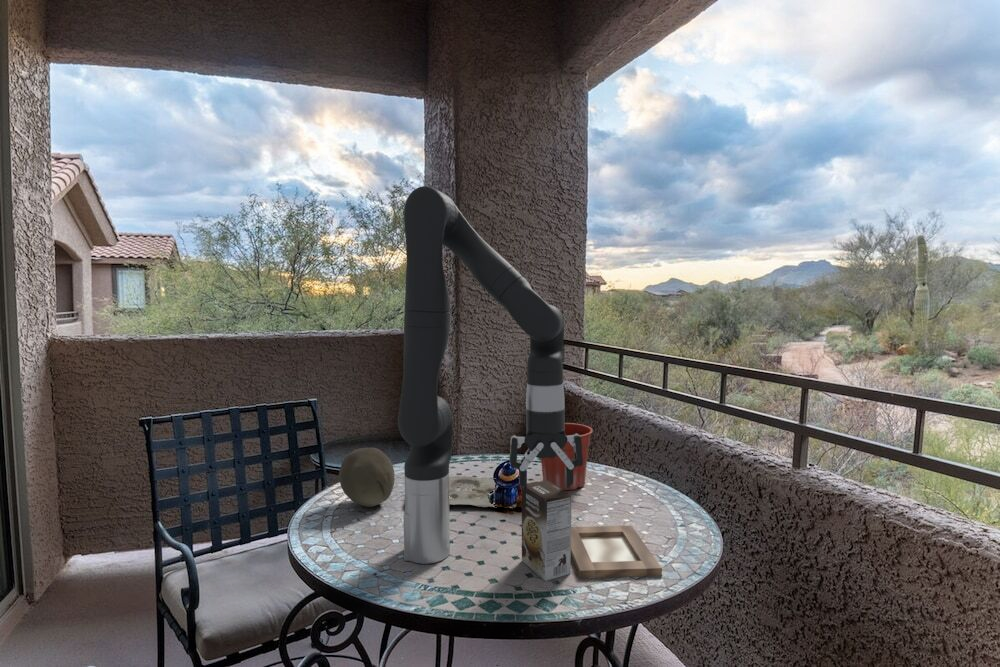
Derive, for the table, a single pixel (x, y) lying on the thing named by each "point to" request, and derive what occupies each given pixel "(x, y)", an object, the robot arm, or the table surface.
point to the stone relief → (467, 497)
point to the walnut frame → (611, 553)
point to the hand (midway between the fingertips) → (546, 487)
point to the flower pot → (556, 467)
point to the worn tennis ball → (367, 476)
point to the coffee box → (546, 529)
